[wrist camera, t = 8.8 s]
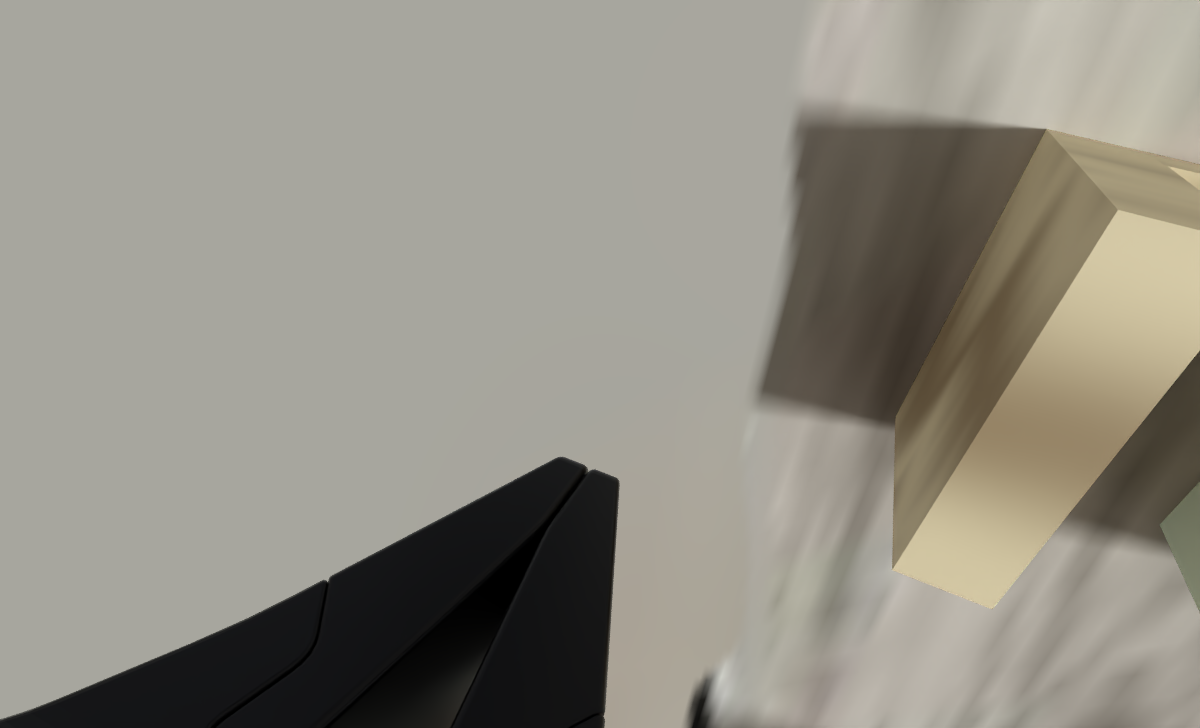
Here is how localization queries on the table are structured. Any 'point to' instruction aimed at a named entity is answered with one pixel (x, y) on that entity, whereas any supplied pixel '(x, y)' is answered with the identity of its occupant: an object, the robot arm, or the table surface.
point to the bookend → (1046, 361)
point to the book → (1186, 539)
